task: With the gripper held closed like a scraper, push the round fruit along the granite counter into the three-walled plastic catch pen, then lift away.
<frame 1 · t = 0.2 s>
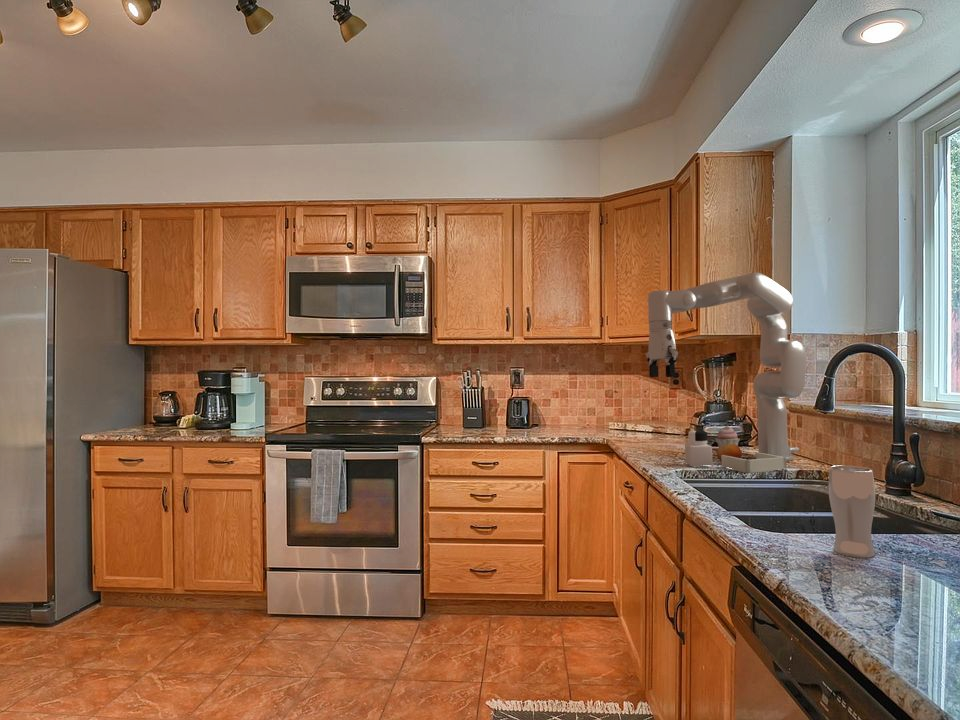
hand: (662, 377, 191), 31 cm above the countertop, tool pointing down, fingers open, 9 cm apart
medicine bottle: (698, 466, 192), on the countertop
cupcake: (727, 451, 225), on the countertop
fruit: (729, 464, 195), on the countertop
catch pen: (753, 468, 184), on the countertop
beer glass: (854, 553, 100), on the countertop
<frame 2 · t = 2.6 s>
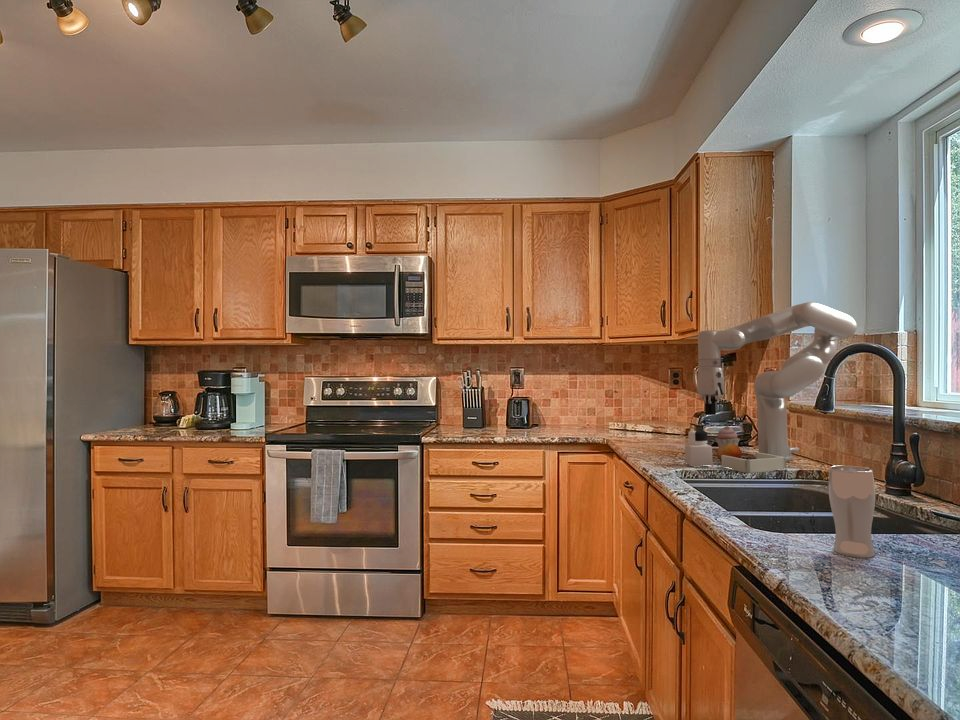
hand: (710, 414, 204), 16 cm above the countertop, tool pointing down, fingers closed
nothing on the countertop moved.
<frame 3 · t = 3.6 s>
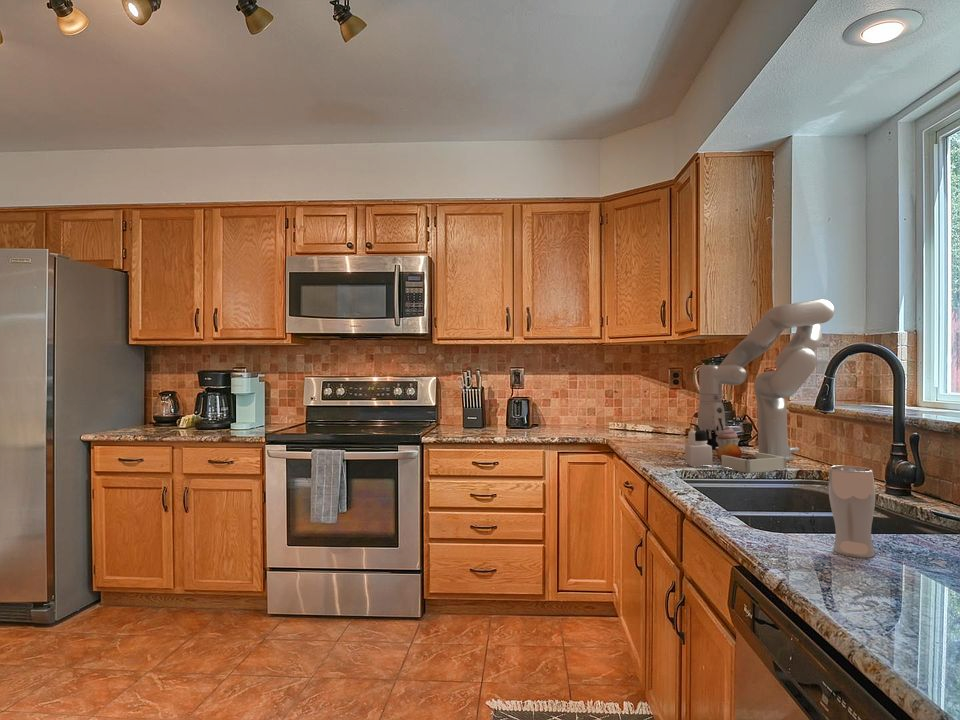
hand: (710, 449, 203), 4 cm above the countertop, tool pointing down, fingers closed
nothing on the countertop moved.
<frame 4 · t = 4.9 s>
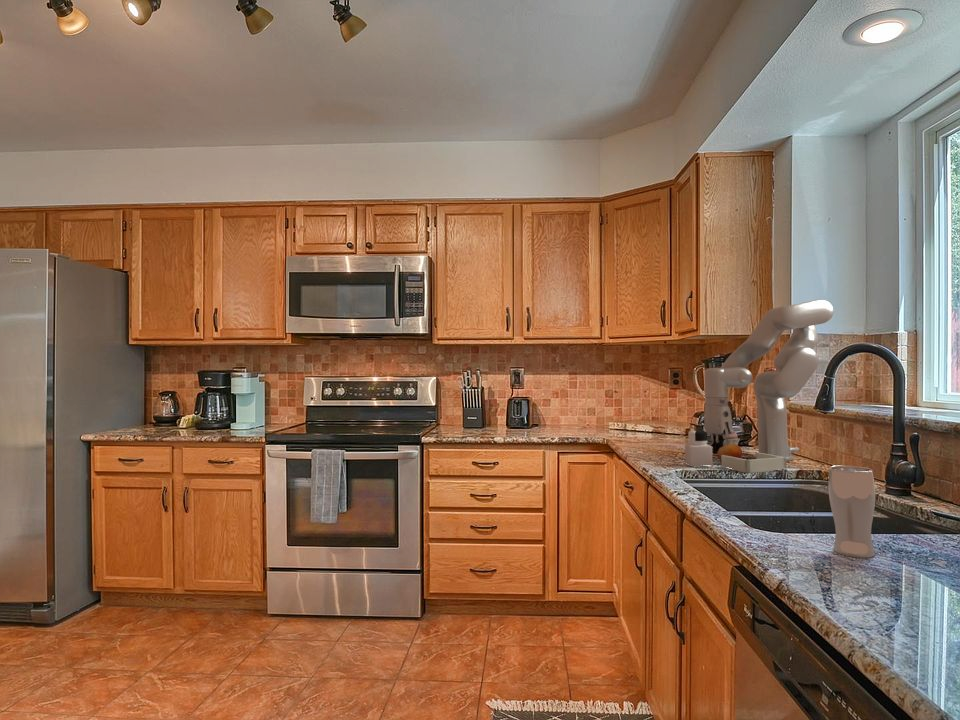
hand: (718, 453, 200), 3 cm above the countertop, tool pointing down, fingers closed
fruit: (730, 464, 194), on the countertop, touching gripper
everything else where it was.
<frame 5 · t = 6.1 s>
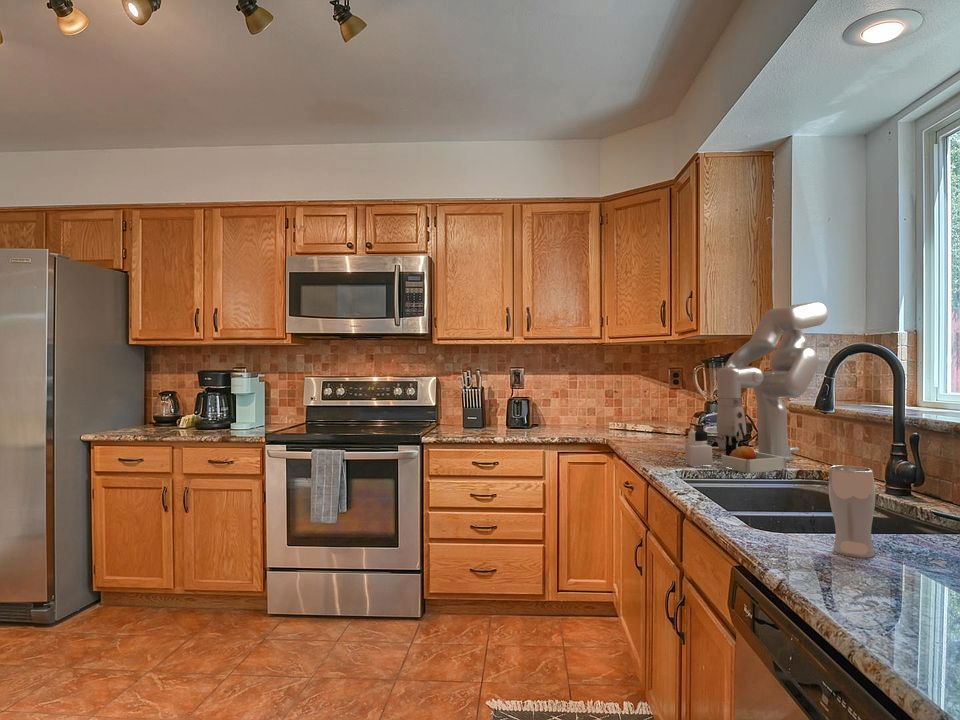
hand: (731, 456, 194), 3 cm above the countertop, tool pointing down, fingers closed
fruit: (743, 467, 188), on the countertop, touching gripper
everything else where it was.
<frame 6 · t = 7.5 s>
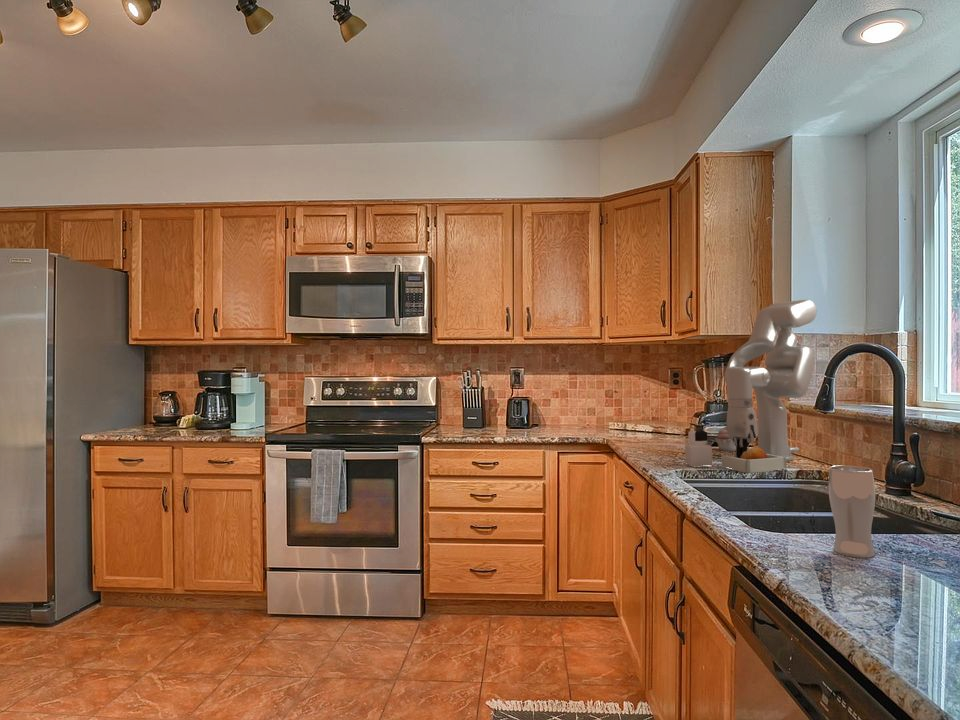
hand: (742, 458, 189), 3 cm above the countertop, tool pointing down, fingers closed
fruit: (754, 469, 183), on the countertop, touching gripper
everything else where it was.
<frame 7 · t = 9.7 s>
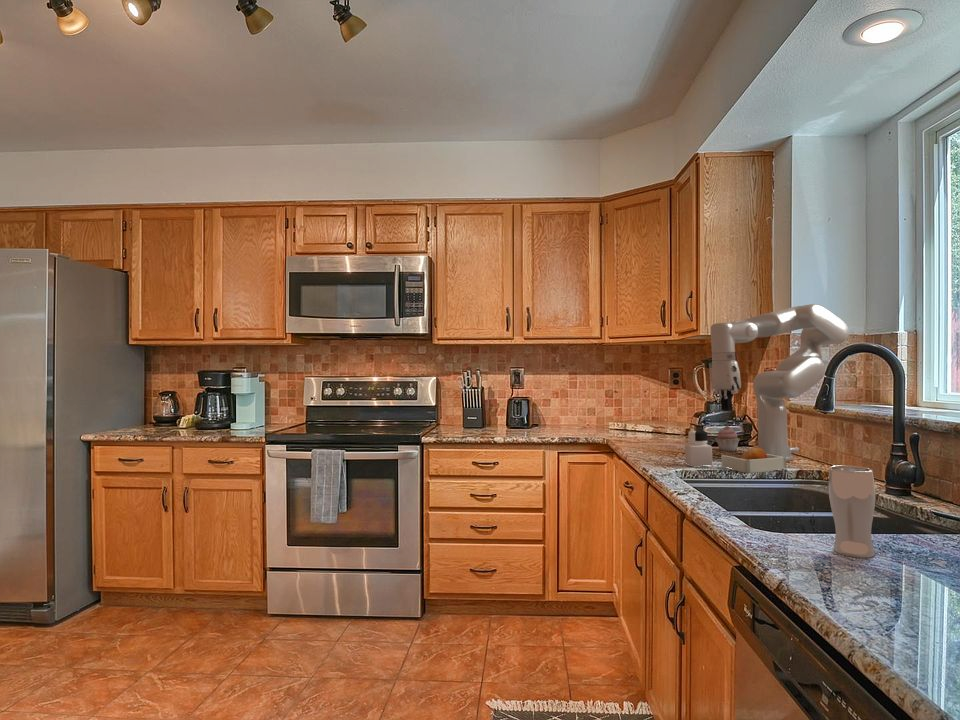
hand: (726, 409, 197), 19 cm above the countertop, tool pointing down, fingers closed
fruit: (754, 469, 183), on the countertop
everything else where it was.
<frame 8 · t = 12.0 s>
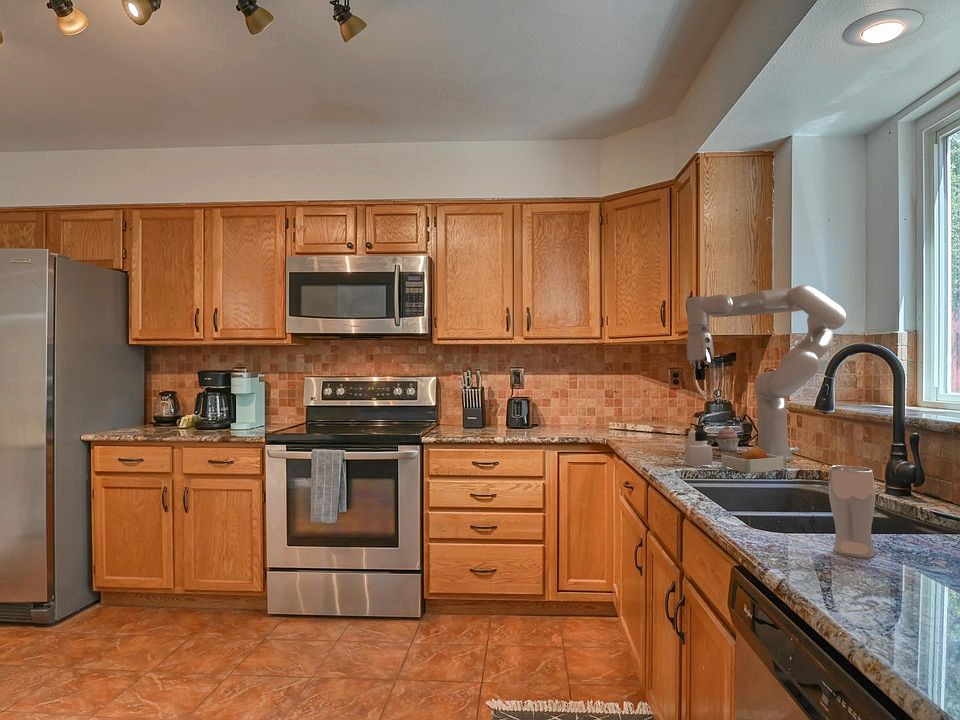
hand: (700, 379, 206), 29 cm above the countertop, tool pointing down, fingers closed
nothing on the countertop moved.
at the end: fruit inside the target area on the catch pen (1.0 cm from its centre), point 0.0 cm above the catch pen's base; fruit moved 12.5 cm from its start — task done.
